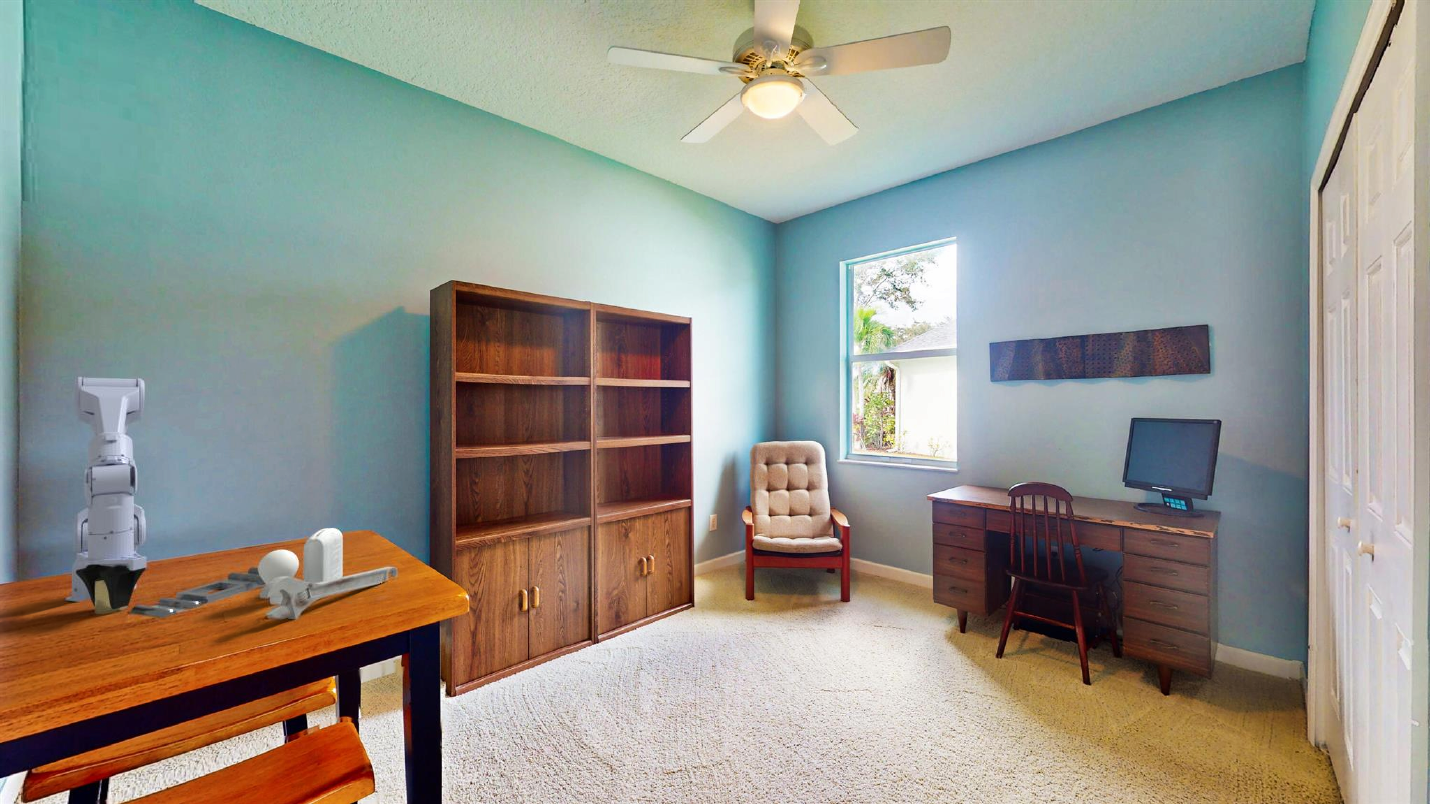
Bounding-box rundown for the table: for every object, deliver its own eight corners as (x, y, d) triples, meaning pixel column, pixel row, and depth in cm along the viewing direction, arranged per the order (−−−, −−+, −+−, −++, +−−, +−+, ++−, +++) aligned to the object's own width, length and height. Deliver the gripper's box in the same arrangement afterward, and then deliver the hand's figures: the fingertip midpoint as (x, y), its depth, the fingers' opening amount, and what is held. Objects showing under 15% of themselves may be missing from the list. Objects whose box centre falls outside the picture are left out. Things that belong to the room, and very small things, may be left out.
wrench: (396, 592, 125) (263, 629, 96) (389, 591, 125) (254, 628, 96) (399, 554, 126) (269, 580, 97) (392, 554, 126) (260, 580, 97)
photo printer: (323, 581, 122) (323, 524, 122) (345, 580, 123) (345, 523, 123) (299, 597, 112) (299, 535, 112) (323, 596, 113) (324, 534, 113)
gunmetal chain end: (175, 605, 108) (175, 588, 108) (258, 580, 123) (257, 565, 123) (208, 609, 106) (208, 592, 106) (288, 584, 121) (288, 568, 121)
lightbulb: (255, 608, 107) (255, 550, 107) (294, 600, 111) (294, 544, 111) (261, 617, 102) (261, 556, 102) (302, 608, 107) (302, 550, 107)
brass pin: (89, 619, 101) (89, 580, 101) (117, 611, 105) (117, 573, 105) (104, 621, 100) (104, 582, 100) (132, 613, 104) (132, 575, 104)
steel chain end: (128, 619, 101) (128, 607, 101) (221, 591, 116) (221, 581, 116) (162, 624, 99) (162, 612, 99) (253, 595, 114) (253, 584, 114)
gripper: (53, 533, 100) (53, 610, 100) (111, 539, 97) (110, 618, 97) (105, 525, 107) (105, 596, 107) (160, 529, 103) (160, 603, 103)
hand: (111, 606), depth 102 cm, fingers closed on brass pin, 4 cm apart
